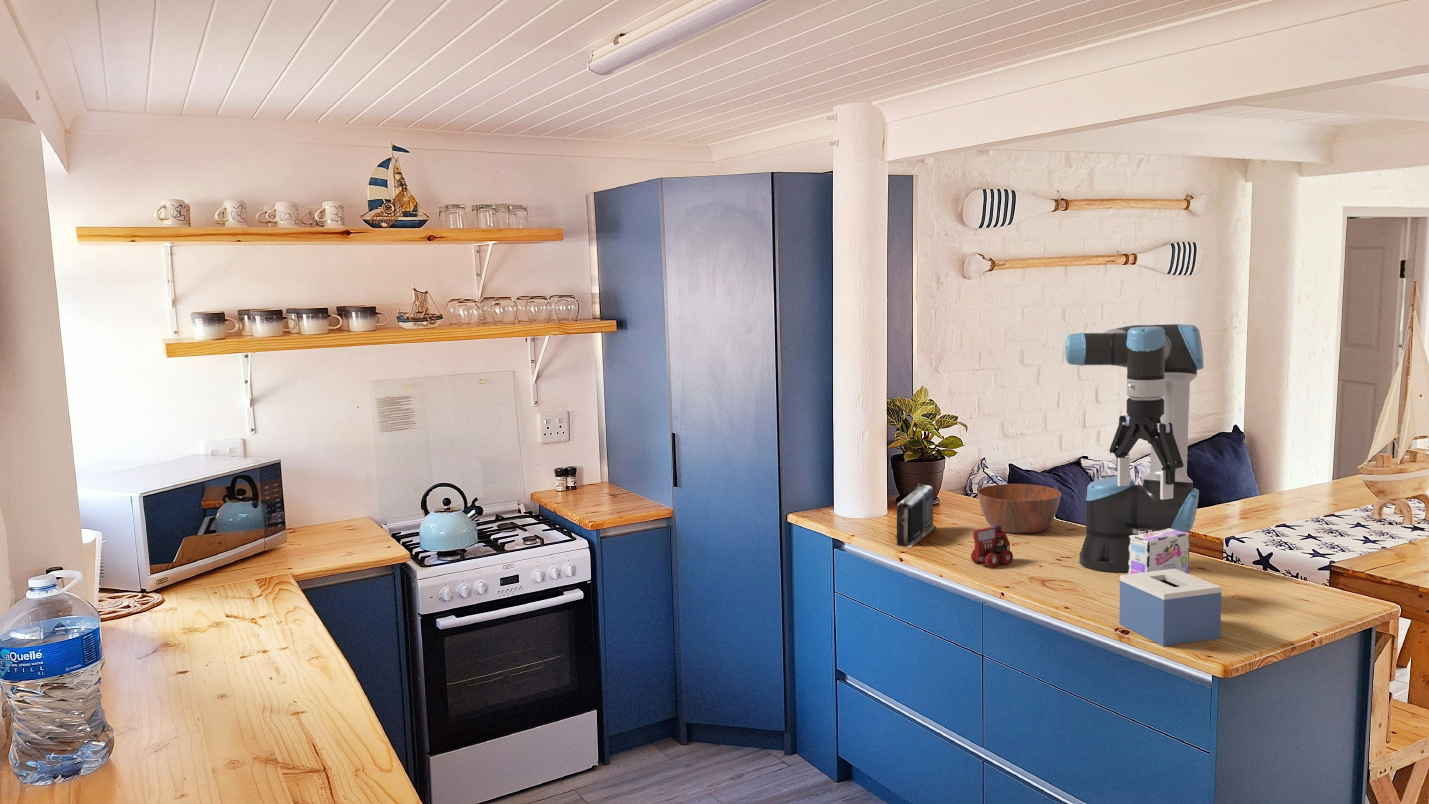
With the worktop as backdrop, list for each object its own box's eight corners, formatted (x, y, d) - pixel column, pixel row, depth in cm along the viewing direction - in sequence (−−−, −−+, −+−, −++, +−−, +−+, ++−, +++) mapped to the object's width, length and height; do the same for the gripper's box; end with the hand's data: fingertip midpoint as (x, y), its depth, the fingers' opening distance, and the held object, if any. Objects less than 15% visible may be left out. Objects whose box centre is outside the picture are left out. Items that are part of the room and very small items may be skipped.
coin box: (1119, 623, 208) (1119, 575, 206) (1173, 616, 211) (1174, 568, 210) (1163, 646, 194) (1164, 594, 193) (1220, 638, 197) (1221, 586, 196)
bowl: (1069, 522, 296) (1069, 487, 295) (1050, 541, 276) (1050, 503, 274) (990, 515, 310) (990, 481, 309) (967, 533, 289) (966, 496, 288)
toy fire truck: (1018, 562, 256) (1018, 525, 255) (984, 570, 251) (984, 532, 250) (999, 556, 263) (999, 520, 261) (966, 564, 257) (966, 527, 256)
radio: (909, 548, 274) (908, 499, 273) (882, 544, 280) (882, 496, 278) (943, 531, 292) (942, 484, 291) (917, 527, 298) (917, 482, 296)
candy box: (1147, 609, 216) (1148, 540, 214) (1126, 602, 221) (1127, 534, 220) (1189, 599, 222) (1190, 532, 220) (1168, 592, 227) (1169, 526, 225)
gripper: (1093, 392, 215) (1093, 482, 218) (1172, 406, 191) (1171, 506, 194) (1121, 389, 217) (1120, 478, 220) (1203, 402, 193) (1201, 502, 196)
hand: (1144, 492), depth 207 cm, fingers open, 13 cm apart
